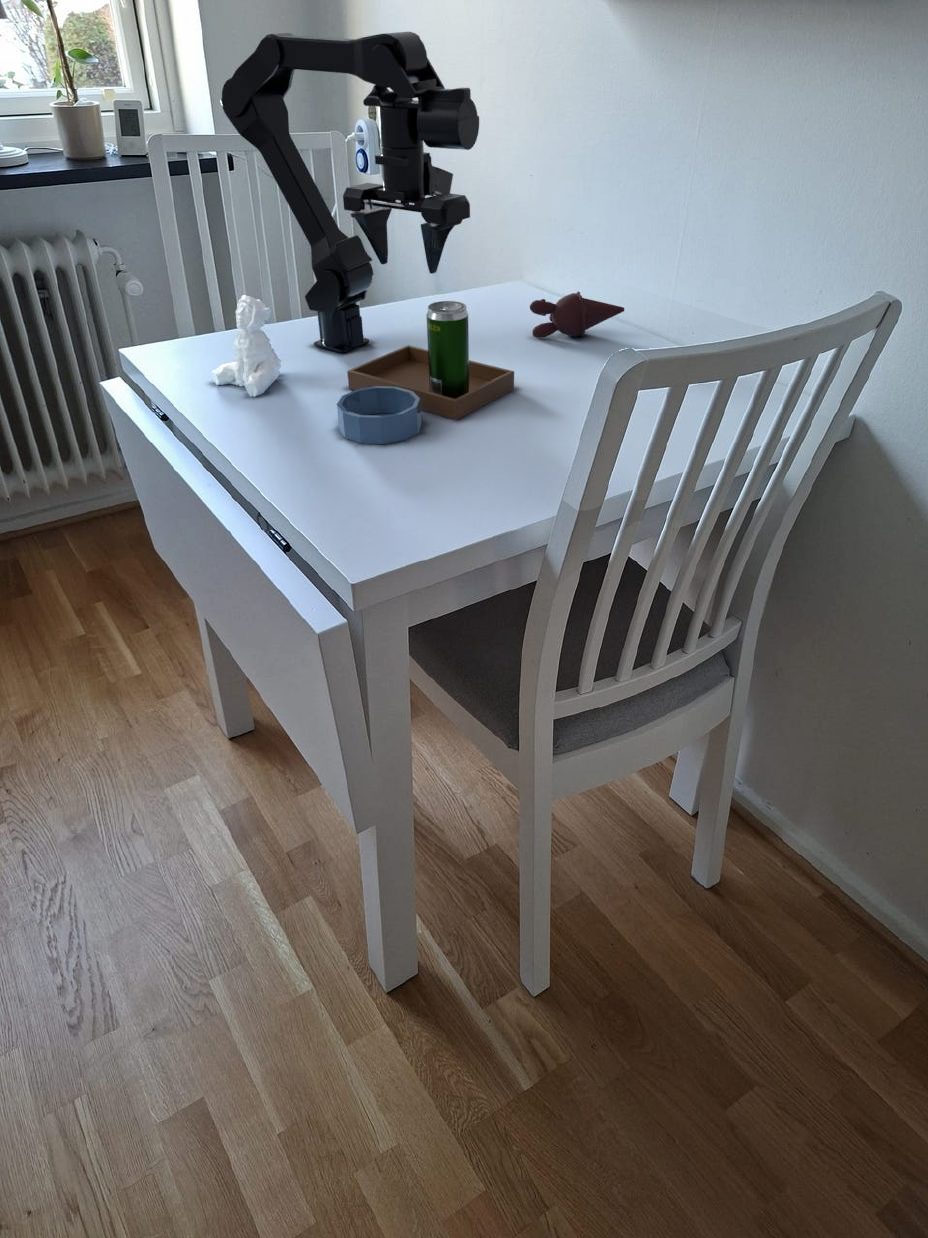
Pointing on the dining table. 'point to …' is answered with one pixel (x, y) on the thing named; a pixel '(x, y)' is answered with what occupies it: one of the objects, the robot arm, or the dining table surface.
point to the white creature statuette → (251, 351)
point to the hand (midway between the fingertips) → (408, 268)
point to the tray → (413, 375)
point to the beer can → (448, 348)
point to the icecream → (572, 315)
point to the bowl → (379, 428)
